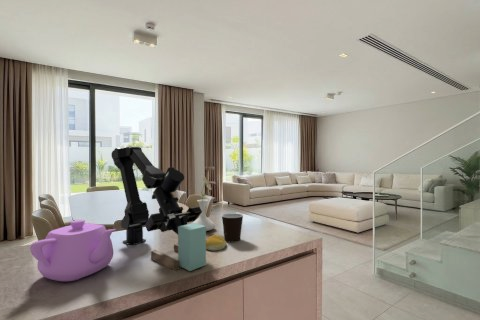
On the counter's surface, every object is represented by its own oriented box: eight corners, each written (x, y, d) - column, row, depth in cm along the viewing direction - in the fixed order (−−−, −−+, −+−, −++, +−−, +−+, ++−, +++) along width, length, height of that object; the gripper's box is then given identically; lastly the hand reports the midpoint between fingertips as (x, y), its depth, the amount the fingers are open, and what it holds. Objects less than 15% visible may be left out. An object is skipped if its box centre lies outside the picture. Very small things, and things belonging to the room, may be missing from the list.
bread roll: (200, 250, 95) (200, 239, 95) (208, 242, 103) (207, 232, 103) (222, 252, 93) (222, 241, 93) (228, 243, 102) (228, 233, 102)
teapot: (11, 285, 68) (10, 228, 68) (84, 257, 88) (84, 212, 88) (71, 303, 60) (70, 238, 60) (137, 267, 80) (137, 218, 80)
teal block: (178, 265, 80) (178, 226, 80) (193, 259, 84) (193, 222, 84) (189, 271, 76) (189, 230, 76) (205, 264, 80) (205, 226, 80)
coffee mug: (238, 244, 101) (238, 218, 101) (218, 241, 104) (218, 216, 104) (247, 235, 112) (247, 212, 112) (228, 233, 115) (228, 211, 115)
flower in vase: (213, 233, 115) (213, 177, 115) (187, 233, 115) (187, 177, 115) (216, 225, 128) (216, 175, 128) (193, 225, 128) (193, 175, 128)
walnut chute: (151, 258, 87) (150, 250, 87) (177, 250, 95) (177, 243, 95) (174, 270, 77) (174, 262, 77) (201, 260, 85) (201, 252, 85)
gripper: (180, 211, 100) (198, 246, 93) (133, 219, 87) (149, 261, 79) (192, 192, 95) (212, 228, 88) (144, 198, 81) (163, 241, 74)
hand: (185, 239), depth 82 cm, fingers closed, pressing on teal block
